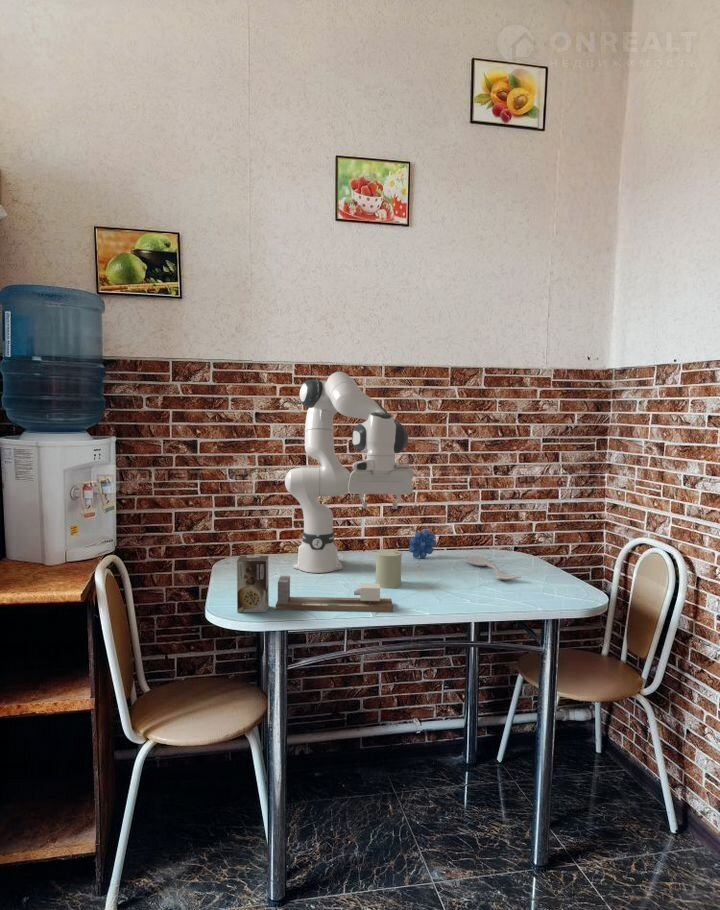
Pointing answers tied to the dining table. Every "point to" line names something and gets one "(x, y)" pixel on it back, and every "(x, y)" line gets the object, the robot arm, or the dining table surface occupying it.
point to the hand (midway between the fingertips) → (379, 508)
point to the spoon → (484, 562)
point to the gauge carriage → (368, 592)
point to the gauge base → (326, 601)
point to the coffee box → (252, 584)
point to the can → (388, 568)
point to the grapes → (422, 544)
